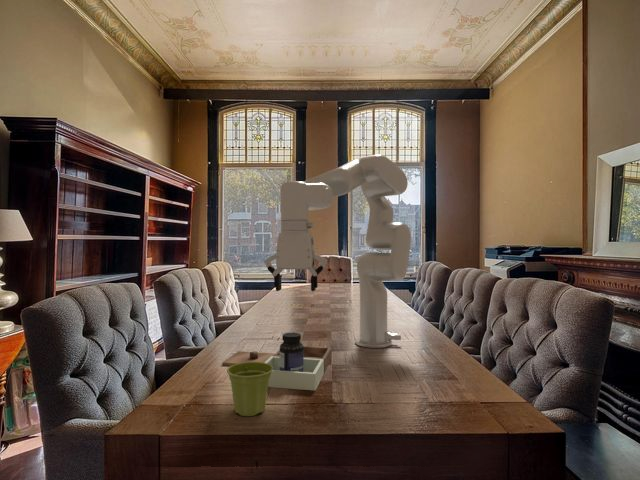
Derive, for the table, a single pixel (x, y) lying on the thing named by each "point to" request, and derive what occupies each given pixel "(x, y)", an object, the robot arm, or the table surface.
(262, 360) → the walnut lid
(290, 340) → the pill bottle
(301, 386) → the sage box
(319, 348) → the walnut box
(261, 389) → the plant pot
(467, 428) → the table surface
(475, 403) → the table surface
